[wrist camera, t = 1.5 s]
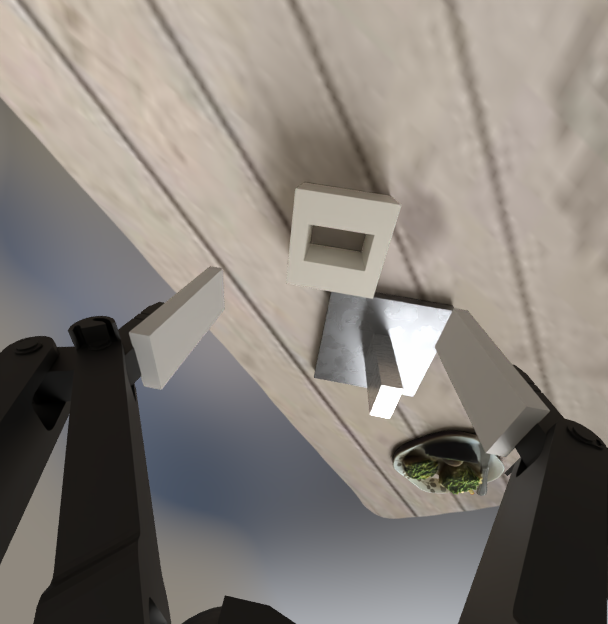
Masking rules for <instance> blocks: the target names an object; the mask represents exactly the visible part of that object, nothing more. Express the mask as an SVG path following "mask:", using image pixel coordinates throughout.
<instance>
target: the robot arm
mask: <svg viewBox="0 0 608 624" xmlns="http://www.w3.org/2000/svg"><path fill="white" fill-rule="evenodd" d="M224 309H225V307H224V282H223V268H217V267H211V266H210V267H209V268H207V269H206V270H205V271H204V272H202V273H201V274H200V275H199V276H197V277H196V278H195V279H194V280H193V281H191V282H190V283H189V284H188V285H186V286H185V287H184V288H183V289H181V290H180V291H179V292H178V293H177V294H175V295H174V296H173V297H172V298H170V299H169V300H168V301H167V302H166V303H162V302H158V303H156V304H154V305H152V306H149V307H147V308H146V309H145V310H143V311H142V312H141V314H138V315H137V316H135V317H134V319H131V320H130V321H129V322H128V323H126V324H125V325H124V326H122V327H121V328H120V329H119V330H118V329H117V325H116V323H115V320H114V319H113V318H110V317H107V316H95V317H89V318H86V319H82V320H80V321H78V322H76V323H74V324H73V325H72V326H70V328H69V330H68V332H69V334H70V337H71V339H72V342H73V344H74V346H75V347H57V346H56V344H55V342H54V340H53V339H52V338H50V337H46V336H35V337H29V338H25V339H21V340H19V341H17V342H15V343H13V344H10V345H9V346H7V347H6V348H5V349H4V350H3V351H2V352H1V353H0V564H1V561H2V559H3V557H4V555H5V553H6V551H7V548H8V546H9V544H10V541H11V540H12V537H13V535H14V533H15V531H16V529H17V527H18V525H19V522H20V520H21V518H22V516H23V514H24V511H25V509H26V507H27V505H28V503H29V500H30V498H31V496H32V494H33V492H34V489H35V487H36V485H37V483H38V481H39V479H40V476H41V474H42V472H43V470H44V468H45V466H46V463H47V461H48V459H49V457H50V454H51V453H52V450H53V448H54V446H55V444H56V442H57V439H58V437H59V435H60V433H61V431H62V429H63V426H64V424H65V422H66V420H67V418H68V416H69V425H68V436H67V445H66V456H65V465H64V476H63V486H62V495H61V506H60V516H59V526H58V537H57V546H56V556H55V566H54V573H53V579H52V581H51V584H50V586H49V587H48V588H47V589H46V590H45V591H44V593H43V594H42V595H41V597H40V600H39V603H38V605H37V609H36V613H35V618H34V623H33V624H171V619H170V612H169V606H168V600H167V595H166V590H165V587H164V582H163V578H162V572H161V566H160V558H159V552H158V545H157V537H156V530H155V523H154V515H153V509H152V502H151V494H150V487H149V480H148V472H147V465H146V458H145V451H144V443H143V437H142V429H141V422H140V415H139V408H138V401H137V395H136V394H137V393H136V388H135V384H134V383H135V382H136V381H137V380H138V379H139V378H140V376H141V377H142V381H143V385H144V386H145V387H151V388H156V389H161V390H162V389H163V387H164V386H165V384H166V383H167V382H168V381H169V380H170V378H171V377H172V376H173V375H174V373H175V372H176V371H177V369H178V368H179V367H180V366H181V364H182V363H183V362H184V360H185V359H186V358H187V357H188V355H189V354H190V353H191V352H192V350H193V349H194V348H195V346H196V345H197V344H198V343H199V341H200V340H201V339H202V338H203V336H204V335H205V334H206V332H207V331H208V330H209V329H210V327H211V326H212V325H213V323H214V322H215V321H216V320H217V318H218V317H219V316H220V315H221V313H222V312H223V311H224ZM435 349H436V351H437V353H438V355H439V357H440V359H441V362H442V364H443V366H444V368H445V370H446V372H447V374H448V376H449V378H450V380H451V382H452V384H453V386H454V388H455V390H456V392H457V394H458V397H459V399H460V401H461V403H462V405H463V407H464V409H465V411H466V413H467V415H468V417H469V419H470V421H471V423H472V425H473V427H474V429H475V432H476V434H477V436H478V438H479V440H480V442H481V444H482V446H483V448H484V450H485V452H486V453H488V454H493V455H498V456H504V457H506V456H507V455H508V454H509V453H510V452H511V451H512V450H513V449H514V448H516V450H517V452H518V453H519V455H520V458H519V459H518V460H517V461H516V462H515V463H514V464H513V465H512V466H511V467H510V468H509V469H508V470H507V471H506V472H505V473H504V474H506V475H507V476H508V475H509V474H510V473H511V476H510V479H509V482H508V485H507V487H506V490H505V493H504V496H503V499H502V501H501V504H500V507H499V510H498V513H497V516H496V518H495V521H494V524H493V527H492V530H491V533H490V536H489V538H488V541H487V544H486V546H485V549H484V552H483V555H482V558H481V561H480V563H479V566H478V569H477V572H476V575H475V577H474V580H473V583H472V586H471V589H470V592H469V594H468V597H467V600H466V603H465V606H464V609H463V611H462V614H461V617H460V620H459V623H458V624H607V599H608V448H607V447H606V445H605V444H604V443H603V441H602V440H601V439H600V438H599V437H598V436H597V435H596V434H594V433H593V432H592V431H591V430H589V429H588V428H586V427H584V426H583V425H581V424H579V423H577V422H574V421H572V420H568V419H564V417H563V416H562V415H561V414H560V413H559V412H558V410H557V409H556V408H555V407H554V406H553V405H552V403H551V402H550V401H549V400H548V399H547V397H546V396H545V395H544V394H543V393H541V390H540V389H539V388H538V387H537V386H536V385H534V384H535V383H534V382H533V381H532V380H531V379H530V378H529V376H528V375H527V374H526V373H525V372H523V371H522V370H521V369H519V368H518V367H517V366H516V365H512V364H511V363H510V361H509V360H508V359H507V358H506V356H505V355H504V354H503V353H502V352H501V350H500V349H499V348H498V347H497V346H496V344H495V343H494V342H493V341H492V339H491V338H490V337H489V336H488V335H487V333H486V332H485V331H484V330H483V328H482V327H481V326H480V325H479V324H478V322H477V321H476V320H475V319H474V317H473V316H472V315H471V314H470V313H469V311H467V310H461V309H456V308H454V309H453V311H452V313H451V315H450V317H449V319H448V321H447V323H446V325H445V327H444V329H443V331H442V333H441V335H440V337H439V339H438V341H437V343H436V345H435ZM69 413H70V415H69ZM182 624H296V623H294V622H292V621H291V620H290V619H288V618H287V617H285V616H284V615H282V614H281V613H279V612H278V611H276V610H275V609H273V608H272V607H271V606H268V605H264V604H260V603H256V602H251V601H247V600H243V599H238V598H234V597H230V596H225V598H224V601H223V605H222V606H221V607H216V608H212V609H209V610H206V611H203V612H201V613H199V614H197V615H195V616H193V617H191V618H189V619H188V620H186V621H185V622H183V623H182Z"/></svg>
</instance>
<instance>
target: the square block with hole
mask: <svg viewBox="0 0 608 624" xmlns="http://www.w3.org/2000/svg"><path fill="white" fill-rule="evenodd" d="M400 208H401V204H400V203H399V202H397V201H396V200H395V199H394V198H393V197H392V196H389V195H383V194H377V193H370V192H364V191H357V190H351V189H344V188H338V187H332V186H325V185H319V184H312V183H306V182H304V183H303V184H301V185H300V186H298V187H297V188H295V198H294V208H293V218H292V228H291V238H290V248H289V258H288V268H287V278H286V284H291V285H297V286H302V287H308V288H314V289H319V290H325V291H331V292H337V293H342V294H348V295H354V296H360V297H365V298H371V299H373V297H374V293H375V290H376V287H377V283H378V280H379V277H380V274H381V270H382V267H383V264H384V261H385V257H386V254H387V251H388V248H389V244H390V241H391V238H392V234H393V231H394V228H395V225H396V221H397V218H398V215H399V212H400ZM313 225H316V226H322V227H328V228H334V229H341V230H347V231H353V232H359V233H365V234H366V235H365V239H364V243H363V247H362V251H361V252H360V251H354V250H348V249H342V248H336V247H330V246H324V245H318V244H312V243H311V236H312V229H313Z"/></svg>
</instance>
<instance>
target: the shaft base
mask: <svg viewBox="0 0 608 624" xmlns="http://www.w3.org/2000/svg"><path fill="white" fill-rule="evenodd" d="M453 309H454V307H453V306H452V305H446V304H440V303H435V302H429V301H423V300H417V299H412V298H406V297H400V296H394V295H388V294H383V293H377V292H375V293H374V297H373V299H371V298H365V297H360V296H354V295H348V294H342V293H337V292H331V295H330V300H329V304H328V309H327V314H326V319H325V324H324V329H323V334H322V339H321V343H320V348H319V353H318V358H317V363H316V368H315V374H314V378H318V379H323V380H329V381H334V382H339V383H344V384H350V385H355V386H360V387H365V388H367V392H368V402H369V412H370V415H373V416H378V417H384V418H389V419H390V417H391V415H392V413H393V411H394V409H395V406H396V404H397V402H398V400H399V398H400V396H401V394H402V395H407V396H412V397H413V396H414V394H415V392H416V390H417V388H418V386H419V385H420V383H421V381H422V379H423V377H424V375H425V373H426V371H427V369H428V367H429V365H430V363H431V361H432V360H433V358H434V356H435V354H436V352H437V351H436V349H435V345H436V343H437V341H438V339H439V337H440V335H441V333H442V331H443V329H444V327H445V325H446V323H447V321H448V319H449V317H450V315H451V313H452V311H453Z"/></svg>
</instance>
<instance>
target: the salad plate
mask: <svg viewBox="0 0 608 624" xmlns="http://www.w3.org/2000/svg"><path fill="white" fill-rule="evenodd" d="M414 449H415V450H414ZM393 467H394V468H395V470H396V471H397V472H399V473H400V474H401V475H403V476H404V477H405V478H407V479H408V480H409V481H410V482H411V483H412V484H414V485H415V486H417V487H418V488H419V489H421V490H423V491H426V492H430V493H449V492H452V493H453V494H458V492H460V493H463V492H466V491H468V492H470V494H472V495H473V494H474V492H473V490H472V489H474V490H476V493H477V494H478V495H481V496H482V495H486V493H487V483H488V482H490V481H493V480H495V479H497V478H498V477H499V476H500V475H501V474H502V473H503V471H504V466H503V464H502V462H501V461H500V459H499V458H498V457H497V456H496V455H493V454H488V453H486V452H485V450H484V448H483V446H482V444H481V442H480V440H479V438H478V436H477V435H474V434H470V433H466V432H462V431H441V432H437V433H433V434H429V435H426V436H424V437H421V438H418V439H415V440H412V441H410V442H407V443H405V444H404V445H402V446H401V447H400V448H399V449H398V450H397V451H396V452H395V454H394V456H393ZM435 473H436V474H438V475H439V479H436V478H431V477H432V476H433V475H434V474H435ZM429 476H431V477H429Z"/></svg>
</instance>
